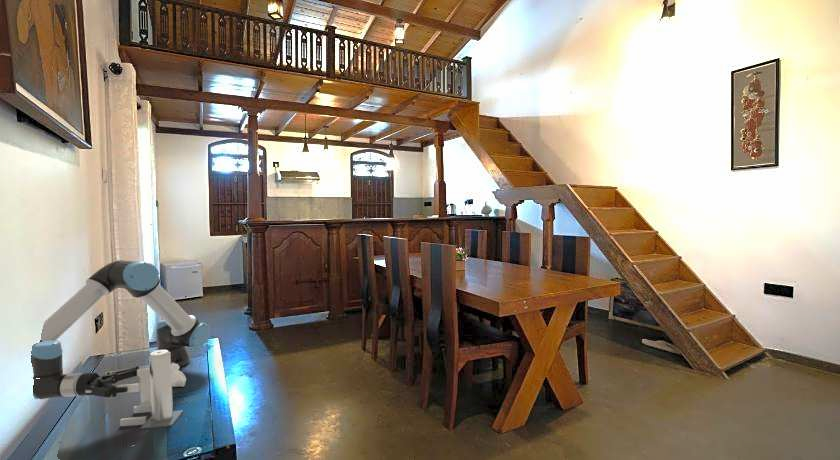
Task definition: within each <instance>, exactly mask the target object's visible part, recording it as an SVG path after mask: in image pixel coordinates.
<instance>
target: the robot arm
mask: <svg viewBox="0 0 840 460" xmlns="http://www.w3.org/2000/svg"><path fill="white" fill-rule="evenodd" d="M159 275H160V271H159V269H158V268H157V267H156V266H155V265H154V264H153V263H151V262H148V261H142V260H123V259H119V260H115V261H112V262H108V263H107V264H106V265H103V266H102V267H101V268H100V269H98V270H97V271H95V272H94V273H93V274H91V276H90V277H89V278H88V279H86V280H85V285H84V286H82V287H81V289H79V290H78V291H77V292H76V293H75V294H73V296H72V297H70V298H69V299H68V300H67V301H65V302H64V304H62V305H61V306H60V307H59V308H57V310H56V311H54V313H52V314H51V315H50V316H49V317H48V318H47V319H46V320H44V322H45V323H44V322H43V323H44V325H43V329H42V333H41V340H40V342H39V343H36V344H34V345H33V346H32V351H31V354H32V355H31V363H32V367H33V368H32V375H33V374H34V375H33V376H32V377H33V379H34V385H33V396H34V398H35V399H34V400H45V399H46V400H47V399H54V398H55V399H56V398H66V397H68V398H69V397H70V398H74V397H78V396H96V397H102V398H110V397H113V398H114V397H117V394H127V393H128V394H129V393H137V392H138V393H140V382H139V383H138V382H137V383H126V384H118V385H117V383H118V382H119V381H124V380H127V379H130V378H133V377H134V378H135V377H137V378H140V377H141V376H150V367H148V368H147V367H146V368H140V366H134V367H129V368H125V369H124V368H123V369H119V370H115V371H114V370H113V371H107V372H106V374H105V375H101V376H100V375H99V374H98V373H97V372H96V371H95V372H91V371H90V372H84V373H83V372H82V373H81V372H78V373H67V374H64V369H63V347H62V342H61V341H60V340H58V339H60V337H61V336H63V334H65V332H67V331H68V330H69V329H70V328H71V327H72V326H73V325H74V324H75V323H76V322H77V321H78V320H80V319H81V317H83V316H84V314H86V313H87V312H88V311H89V310H90V309H91V308H92V307H93V306H94V305H95V304H96V303H97V302H99V300H101V298H103V297H104V296H108V295H110V293H111V292H113V291H115V290H117V289H124V290H126V291H127V292H128V293H129V294H130V295H131V296H132V297H133V298H135V299H139V298H140V299H141V300H142V301H143V302H144V303H145V304H146V305H148V307H149V308H150V309H151V310H153V312H154V313H155V314H156V315H158V317H160V319H161V320H159V321H158V322H157V323H156V329H155V330H156V339H157V350H168V352H170V354H171V363H176V364H178V365H179V367H180V368H181V367H184V366H186V365H188V364H189V363H190V361H191V357H190V353H189V351H188V348H191V349H197V348H201V347H203V346H204V345H205V344H206V343H207V342H208V341H209V339H210V336H211V328H210V325H209V324H207V323H206V322H201V321H199V320H198V319H197V317H196V316H195V315H191V314H188V313H187V312H186V311H185V310H184V309H183V308H182V307H181V306H180V305H179V304H178V302H177V301H176V300H175V299H174V298H173V297H172V296H171V295H170V294H169V293H168V292H167V291H166V290H165V288H163V286H162V285H161V279H160V276H159ZM187 347H188V348H187ZM36 378H40V379H36ZM114 384H116V386H115V385H114Z"/></svg>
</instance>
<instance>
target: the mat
mask: <svg viewBox="0 0 840 460" xmlns="http://www.w3.org/2000/svg"><path fill="white" fill-rule="evenodd" d="M183 413H184V409H182V410H181V409H180V410H173V417H172V418H171V419H169V420H167V421H165V422H161V423H154V422H152V415H151V416H150V417H149V418H148V419H146V422H145V423H144V424H143V425H142V426H141V427H140V429H141V430H143V429H144V430H145V429H154V428H167V427H173V425H174V424H175V423H176V422H177V421H178V419H179V418H180V416H181V415H182V414H183Z"/></svg>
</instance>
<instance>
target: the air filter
mask: <svg viewBox="0 0 840 460" xmlns="http://www.w3.org/2000/svg"><path fill="white" fill-rule="evenodd" d="M148 361H149V368H150V386H151V408H152V412H151V416H152V422H154V423H161V422H165V421H167V420H169V419H171V418H172V417H173V411H174V409H173V408H174V406H173V401H174V400H173V387H172V378H171V354H170V352H168V350H158V349H157V350H155V351H152V352H150V354H149V357H148Z"/></svg>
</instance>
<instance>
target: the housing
mask: <svg viewBox="0 0 840 460" xmlns="http://www.w3.org/2000/svg"><path fill="white" fill-rule="evenodd" d="M139 386H140V391H139V393H140V404H139V405H134V406H133V414H143V413H145V414H146V413H152V408H151V386H150V376H141V377H139ZM146 421H147V416H146V415H145V416H133V417H126V418H121V419H119V423H120V426H121V427H129V426H140V425H143V424H144V423H145V422H146ZM120 426H119V427H120Z"/></svg>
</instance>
